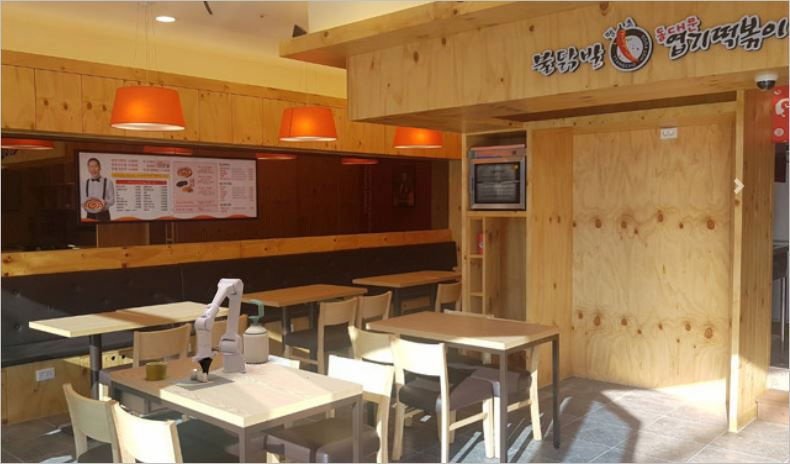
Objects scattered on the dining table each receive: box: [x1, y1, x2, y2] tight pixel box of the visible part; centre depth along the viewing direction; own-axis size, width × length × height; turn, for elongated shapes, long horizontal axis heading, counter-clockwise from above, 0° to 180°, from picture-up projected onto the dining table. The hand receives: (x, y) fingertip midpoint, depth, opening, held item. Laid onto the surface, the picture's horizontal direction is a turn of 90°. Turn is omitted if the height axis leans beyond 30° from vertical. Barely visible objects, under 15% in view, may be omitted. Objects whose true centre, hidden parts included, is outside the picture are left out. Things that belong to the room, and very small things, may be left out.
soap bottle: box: [242, 298, 270, 365], centre depth 350 cm, size 12×12×31 cm
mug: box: [145, 361, 169, 382], centre depth 318 cm, size 12×10×10 cm
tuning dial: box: [190, 367, 208, 382], centre depth 310 cm, size 13×4×4 cm, turn 44°
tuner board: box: [168, 373, 236, 392], centre depth 308 cm, size 21×22×1 cm
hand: (205, 375), depth 310 cm, fingers closed, pressing on tuning dial
